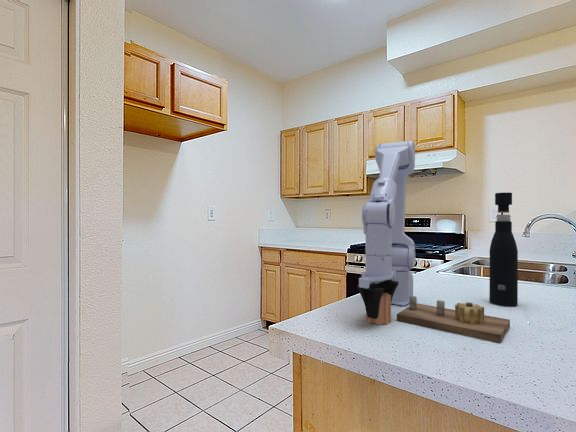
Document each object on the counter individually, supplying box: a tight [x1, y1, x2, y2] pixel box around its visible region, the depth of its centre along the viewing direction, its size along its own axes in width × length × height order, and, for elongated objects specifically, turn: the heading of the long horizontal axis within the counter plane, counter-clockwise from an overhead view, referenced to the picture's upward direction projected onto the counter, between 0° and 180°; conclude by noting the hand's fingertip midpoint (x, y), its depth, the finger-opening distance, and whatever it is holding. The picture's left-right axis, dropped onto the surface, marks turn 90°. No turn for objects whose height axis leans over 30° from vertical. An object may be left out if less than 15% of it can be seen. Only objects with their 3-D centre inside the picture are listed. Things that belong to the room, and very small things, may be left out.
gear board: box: [396, 295, 511, 344], centre depth 72 cm, size 12×20×5 cm, turn 49°
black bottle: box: [488, 192, 519, 308], centre depth 88 cm, size 6×6×30 cm
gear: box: [365, 293, 392, 326], centre depth 74 cm, size 5×5×6 cm
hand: (378, 314), depth 74 cm, fingers closed on gear, 5 cm apart
